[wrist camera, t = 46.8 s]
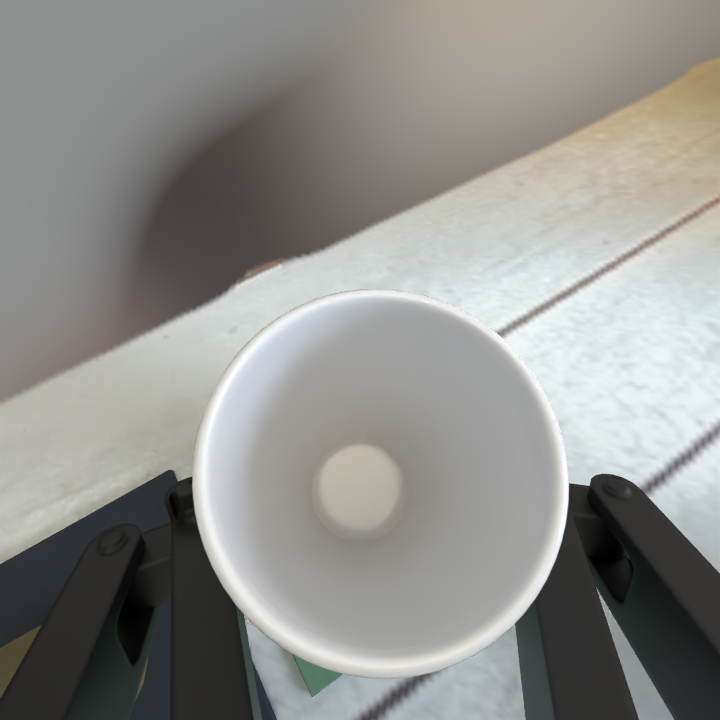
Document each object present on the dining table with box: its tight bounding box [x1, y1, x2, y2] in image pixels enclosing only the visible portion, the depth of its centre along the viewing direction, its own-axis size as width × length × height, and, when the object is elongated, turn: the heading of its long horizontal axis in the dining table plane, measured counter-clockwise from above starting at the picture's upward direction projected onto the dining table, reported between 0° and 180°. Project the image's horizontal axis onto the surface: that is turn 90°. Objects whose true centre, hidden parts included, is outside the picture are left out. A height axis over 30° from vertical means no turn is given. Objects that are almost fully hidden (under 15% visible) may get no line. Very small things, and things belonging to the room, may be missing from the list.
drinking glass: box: [192, 289, 569, 679], centre depth 14 cm, size 7×7×15 cm
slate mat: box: [0, 470, 277, 720], centre depth 19 cm, size 14×14×1 cm
